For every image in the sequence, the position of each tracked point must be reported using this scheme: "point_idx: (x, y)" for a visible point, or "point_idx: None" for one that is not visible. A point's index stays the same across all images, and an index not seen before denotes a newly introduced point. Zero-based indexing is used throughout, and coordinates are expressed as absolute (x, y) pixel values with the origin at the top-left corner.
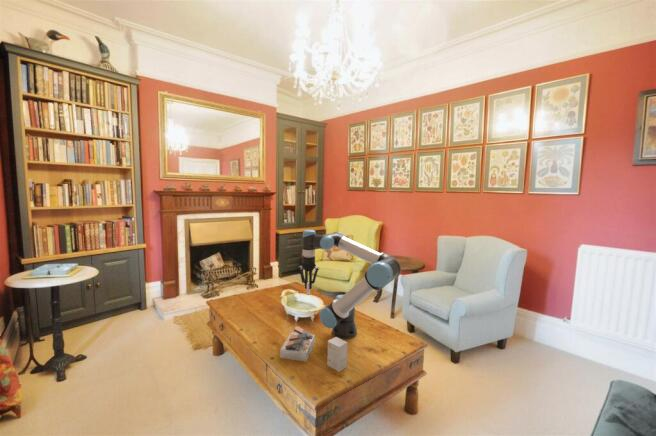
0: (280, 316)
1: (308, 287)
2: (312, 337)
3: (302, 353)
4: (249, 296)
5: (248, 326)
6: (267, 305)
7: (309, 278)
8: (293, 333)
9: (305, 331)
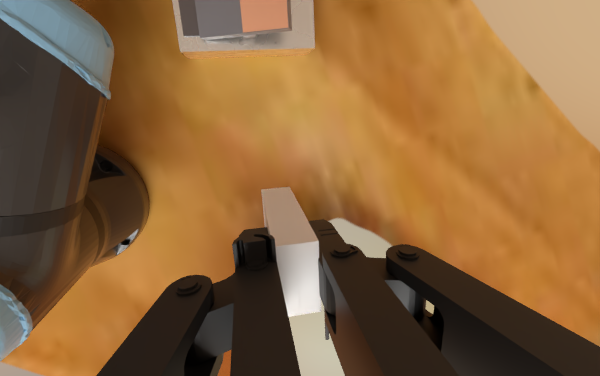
0: (417, 238)
1: (277, 222)
2: (181, 17)
3: None
4: None
5: (514, 117)
6: None
7: (283, 341)
8: (298, 35)
9: (227, 23)
